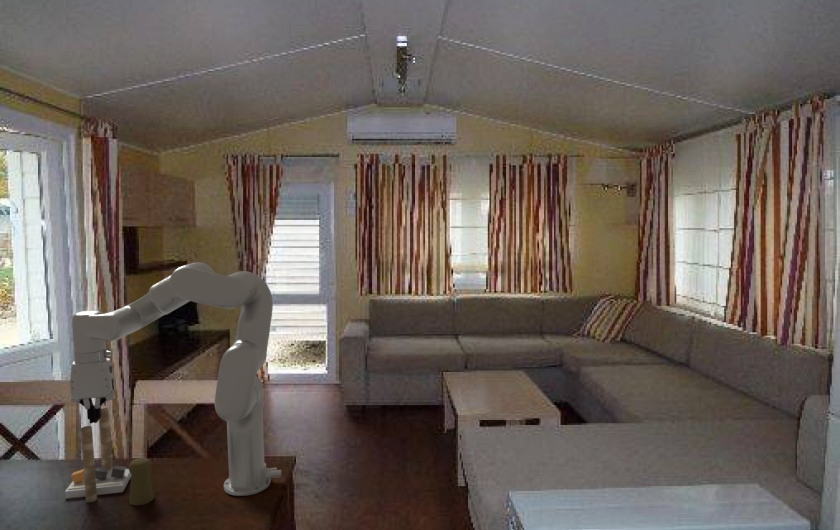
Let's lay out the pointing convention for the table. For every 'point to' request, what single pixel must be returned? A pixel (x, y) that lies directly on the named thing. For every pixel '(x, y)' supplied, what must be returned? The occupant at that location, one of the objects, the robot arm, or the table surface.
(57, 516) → the table surface
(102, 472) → the grey block
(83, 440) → the post near
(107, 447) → the post far
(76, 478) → the orange block
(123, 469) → the grey block
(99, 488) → the panel
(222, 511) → the table surface
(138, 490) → the cork
